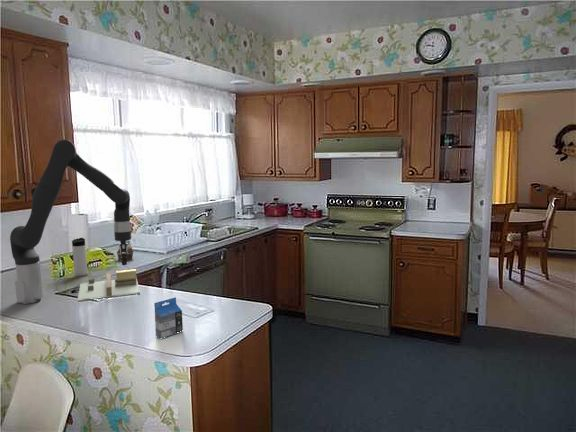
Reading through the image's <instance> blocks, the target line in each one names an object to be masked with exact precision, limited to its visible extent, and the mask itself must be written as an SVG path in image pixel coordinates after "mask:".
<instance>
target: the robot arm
mask: <svg viewBox="0 0 576 432" xmlns="http://www.w3.org/2000/svg"><path fill="white" fill-rule="evenodd" d="M67 167H69V168H71V169H72V170H73V171H76V172H77V173H78V174H80V175H81V176H82V177H83V178H85V179H86V180H87V181H89V182H90V183H91V184H93V185H94V186H95V188H97V189H99V190H100V191H102V192H103V193H104V195H106V196H107V197H108V198H109V200H111V201H112V202H113V203H114V204H115V205H114V207H115V209H114V211H113V230H114V231H113V233H114V234H113V235H114V241H116V242H119V243H118V249H119V248H120V254H121V258H122V261H121V266H127V265H128V263H127V262H128V261H127V253H128V251H127V248H128V243H129V242H127V241H131V240H132V227H131V226H132V225H131V219H130V218H131V215H130V205H131V204H130V203H131V196H130V192H129V191H128V190H127V189H126V188H120V187H119V186H118V185H116V184H115V181H113V179H112V178H111V177H109V176H108V175H106V173H104V172H102V170H100V169H98V168H97V167H95V166H93V165H91V164H90V163H88V162H87V161H86V160H85V159H83V158H82V157H81V156H80V155H79V153H78V152H77V148H76V146H75V144H74V143H73V142H72V141H71V140H68V139H61V140H58V141H57V142H56V143H55V144H54V146H53V149H52V152H51V154H50V158H49V161H48V164H47V165H46V167H45V170H44V172H43V173H42V175H41V177H40V179H39V181H38V183H37V184H36V186H35V189H34V191H33V193H32V197H31V211H30V215H29V218H28V219H27V222H26V223H25V225H20V226H16V227H14V228H13V229H12V231H11V232H10V235H9V242H10V247H11V254H12V258H13V260H14V263H15V274H16V280H15V281H14V285H15V295H16V302H17V303H19V304H23V305H28V304H33V303H36V302H37V303H38V302H40V301H41V300H42V298H44V291H43V282H42V272H41V271H42V270H41V262H40V255H39V254H38V253H37V252H36V250H35V247H37V245H39V243H40V242H41V240H42V238H43V237H42V236H43V233H44V230H45V228H46V224H47V221H48V218H49V216H50V214H51V212H52V210H53V207H54V205H55V203H56V201H57V199H58V196H59V195H60V191H61V189H62V184H63V180H64V174H65V172H66V169H67Z"/></svg>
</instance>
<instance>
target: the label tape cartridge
mask: <svg viewBox="0 0 576 432" xmlns="http://www.w3.org/2000/svg"><path fill="white" fill-rule="evenodd" d="M154 325H155V327H154V329H155V337H156V336H157V337H156V338H158V337H159V338H158V339H160V338H164V337H166V338H168V337H167V336H169V335H172V334H175V333H177V332H180V331H182V330H183V331H184V325H183V310H182V309H181V307H180V306H179V305H178V304H177V297H173V298H169V299H164V300H161V301H157V302H154ZM175 335H176V334H175ZM172 336H173V335H172ZM169 337H170V336H169ZM164 339H165V338H164Z"/></svg>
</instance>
